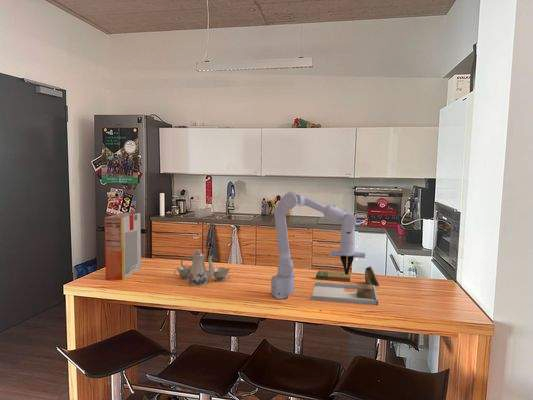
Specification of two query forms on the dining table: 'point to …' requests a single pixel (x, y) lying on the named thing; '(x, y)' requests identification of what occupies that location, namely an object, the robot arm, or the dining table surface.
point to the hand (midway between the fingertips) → (346, 274)
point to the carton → (333, 276)
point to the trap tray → (340, 294)
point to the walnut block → (364, 291)
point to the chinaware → (201, 270)
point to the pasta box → (122, 245)
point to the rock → (371, 276)
